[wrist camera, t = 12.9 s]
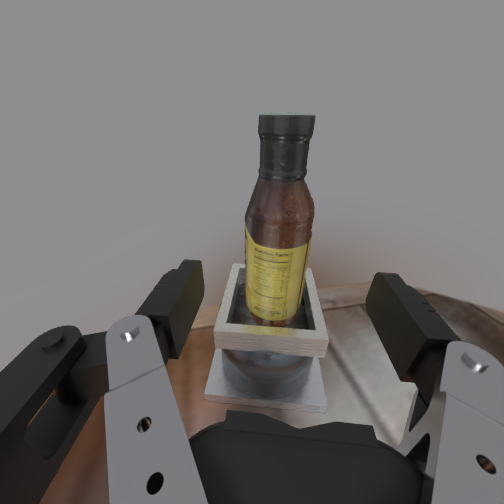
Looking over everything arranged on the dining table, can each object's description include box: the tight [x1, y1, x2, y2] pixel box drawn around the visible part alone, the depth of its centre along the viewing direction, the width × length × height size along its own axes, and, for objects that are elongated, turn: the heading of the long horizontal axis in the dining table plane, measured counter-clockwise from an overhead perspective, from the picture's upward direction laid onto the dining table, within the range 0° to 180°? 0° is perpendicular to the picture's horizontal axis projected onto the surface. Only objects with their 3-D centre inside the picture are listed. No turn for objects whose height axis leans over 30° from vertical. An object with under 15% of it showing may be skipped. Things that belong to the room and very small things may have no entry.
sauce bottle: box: [245, 113, 315, 328], centre depth 21 cm, size 6×6×20 cm
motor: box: [204, 263, 329, 413], centre depth 28 cm, size 14×12×12 cm
